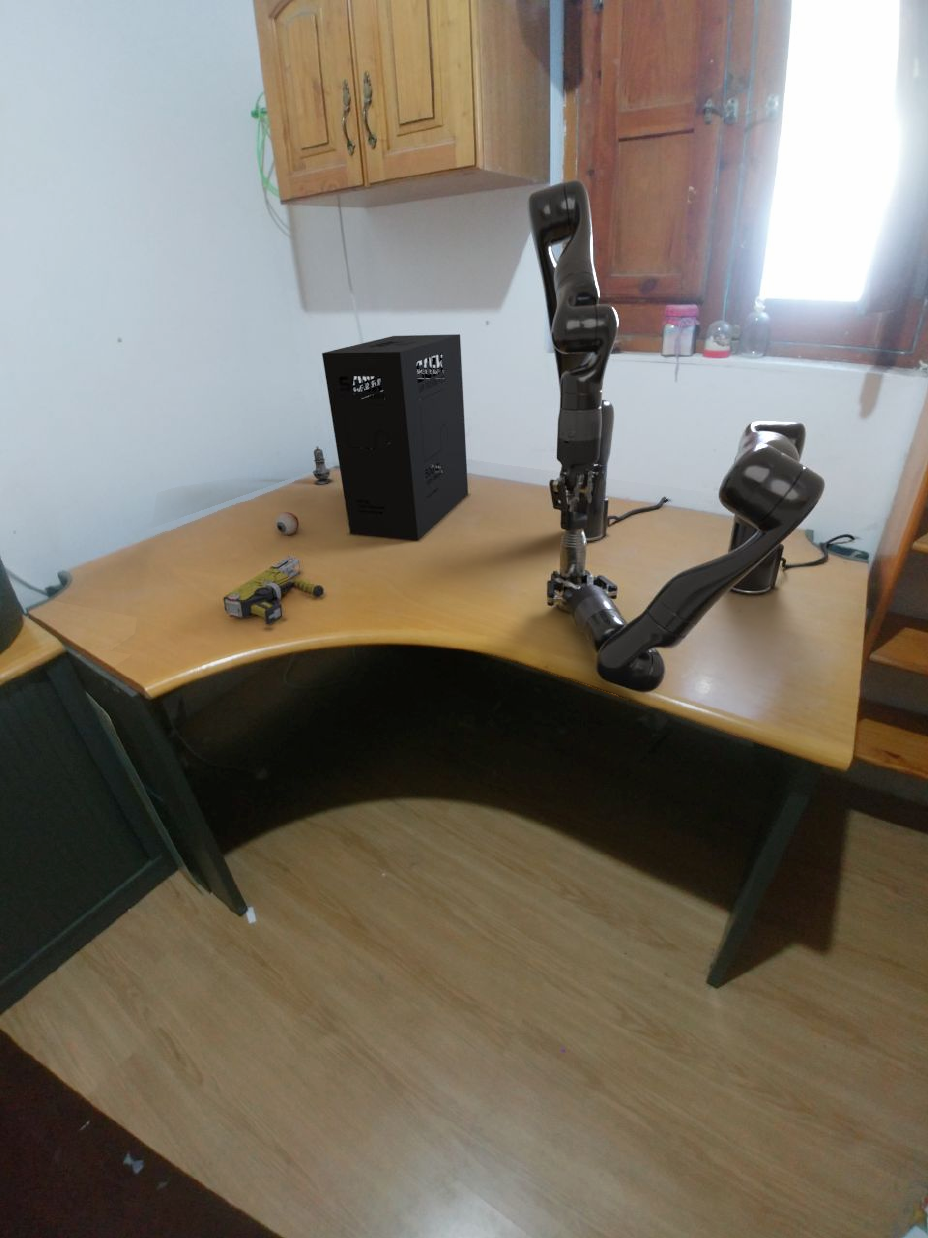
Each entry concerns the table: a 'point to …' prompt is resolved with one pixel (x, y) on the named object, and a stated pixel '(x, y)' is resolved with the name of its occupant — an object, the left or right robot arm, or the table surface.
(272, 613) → the toy gun
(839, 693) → the table surface
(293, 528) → the eyeball
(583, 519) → the cap
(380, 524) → the cardboard box
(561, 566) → the bottle
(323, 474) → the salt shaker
